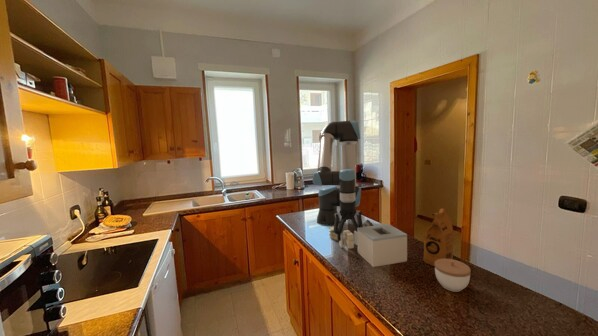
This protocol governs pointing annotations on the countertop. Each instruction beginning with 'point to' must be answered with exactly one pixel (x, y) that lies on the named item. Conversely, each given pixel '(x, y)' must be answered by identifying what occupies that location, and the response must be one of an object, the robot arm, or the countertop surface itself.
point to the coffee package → (438, 239)
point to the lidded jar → (452, 274)
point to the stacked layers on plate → (333, 234)
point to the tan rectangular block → (348, 239)
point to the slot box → (382, 244)
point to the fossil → (367, 223)
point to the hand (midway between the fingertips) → (348, 245)
